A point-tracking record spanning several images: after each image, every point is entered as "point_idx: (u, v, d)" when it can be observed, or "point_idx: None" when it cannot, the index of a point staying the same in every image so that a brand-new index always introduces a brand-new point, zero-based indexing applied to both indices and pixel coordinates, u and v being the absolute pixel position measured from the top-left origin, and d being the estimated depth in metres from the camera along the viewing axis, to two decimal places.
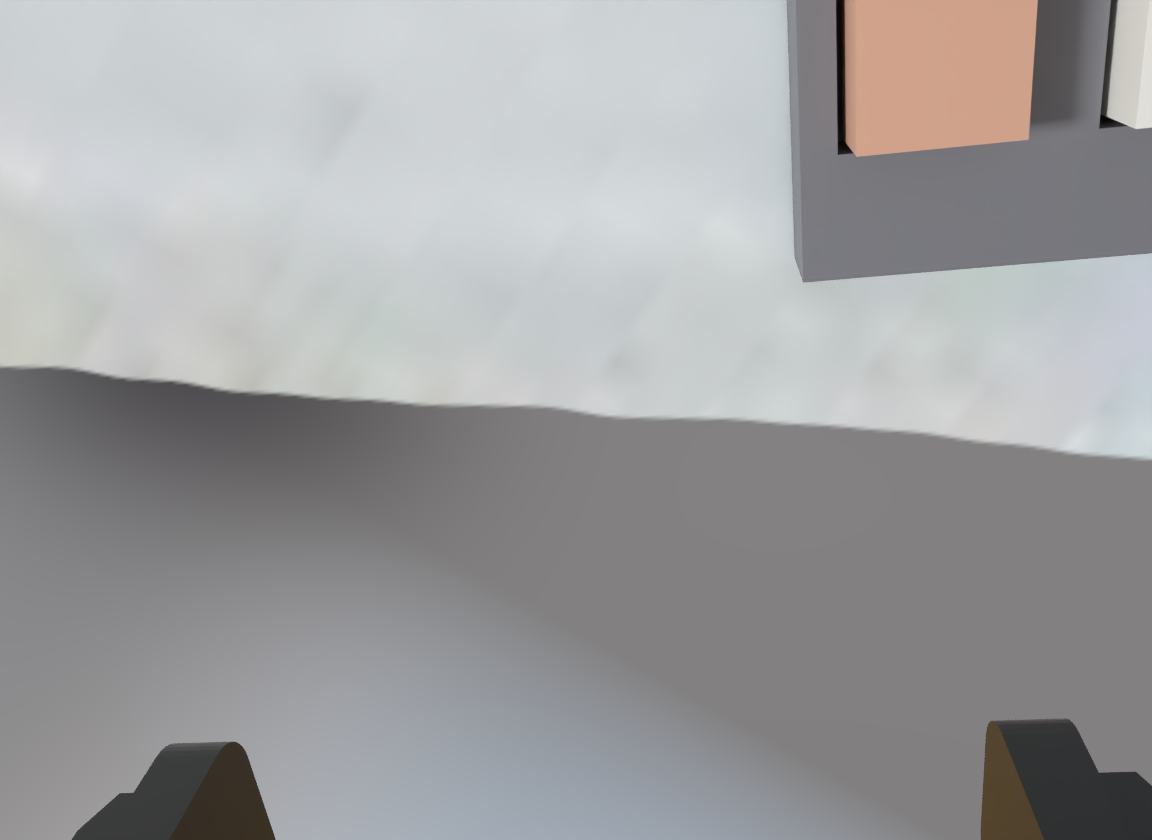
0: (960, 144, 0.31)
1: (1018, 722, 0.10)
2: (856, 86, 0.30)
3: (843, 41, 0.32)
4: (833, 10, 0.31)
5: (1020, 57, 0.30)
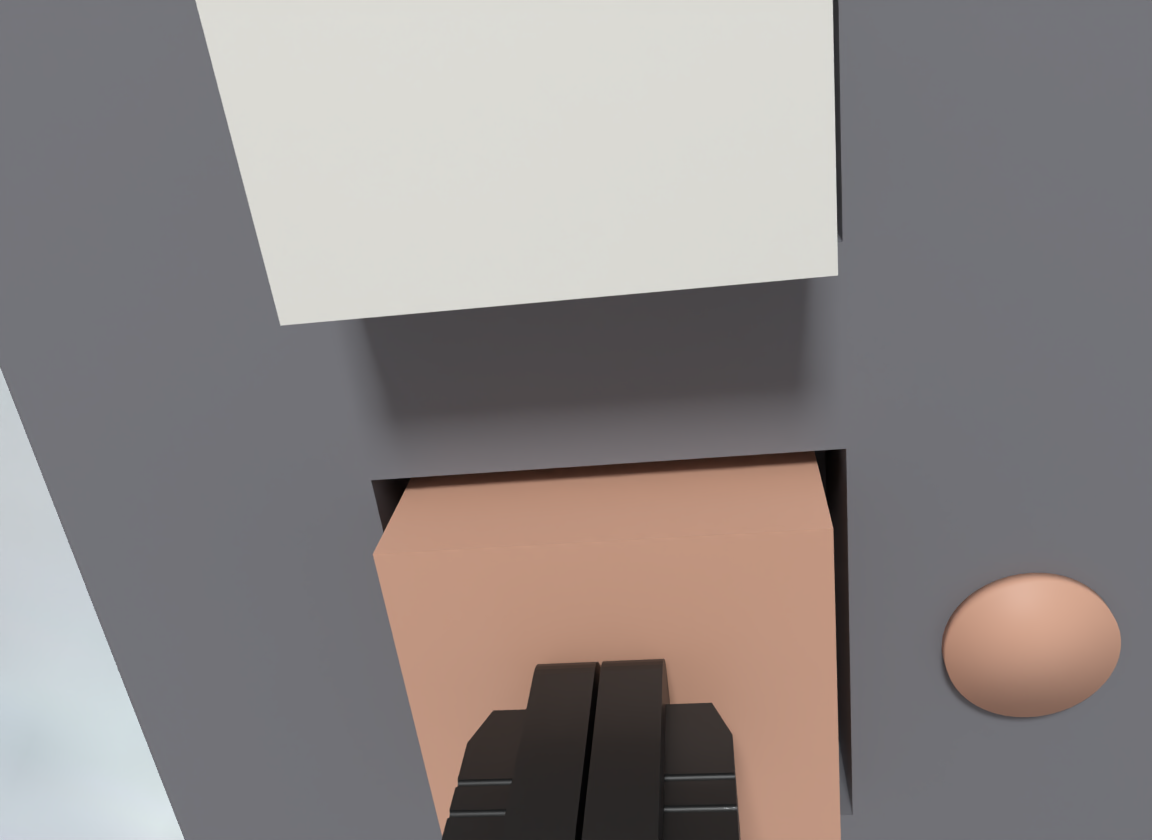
0: None
1: (621, 661, 0.11)
2: None
3: None
4: None
5: None
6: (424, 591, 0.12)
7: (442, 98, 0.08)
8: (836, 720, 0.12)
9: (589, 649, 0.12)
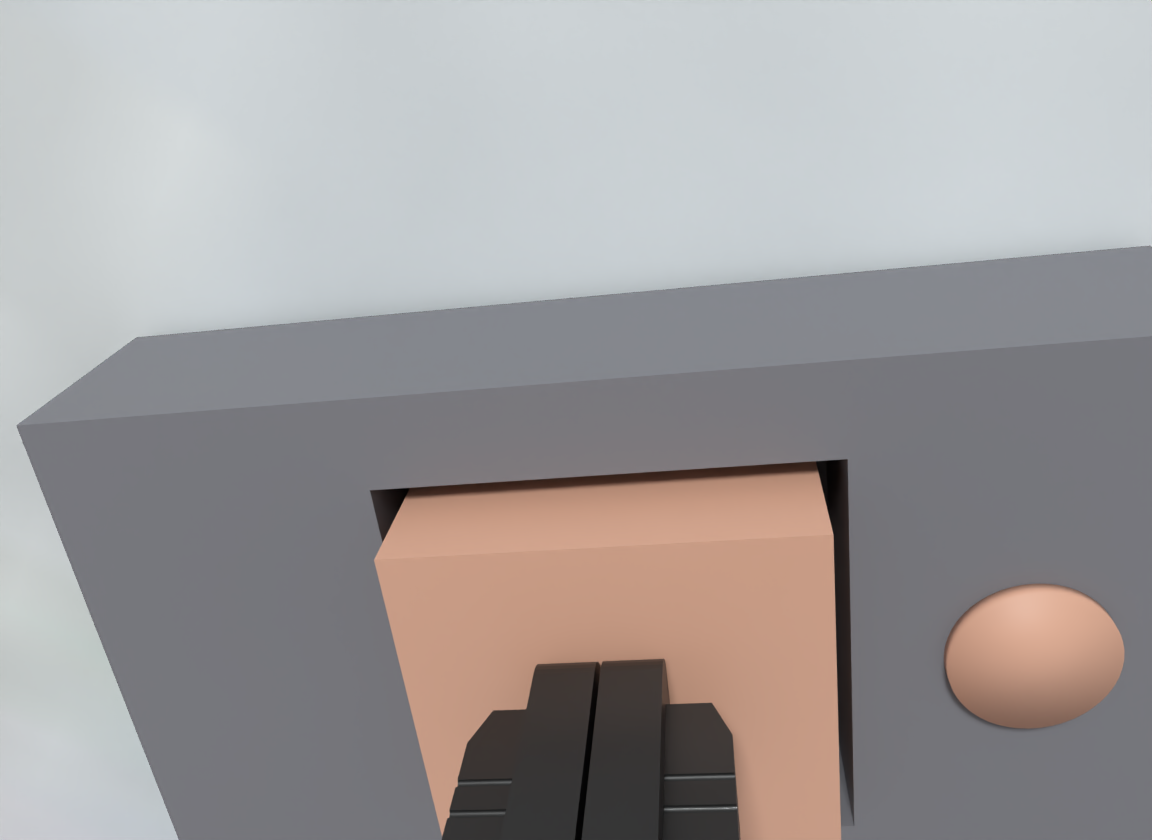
0: (429, 767, 0.13)
1: (621, 662, 0.11)
2: (556, 548, 0.11)
3: None
4: (739, 461, 0.12)
5: None
6: None
7: None
8: None
9: None
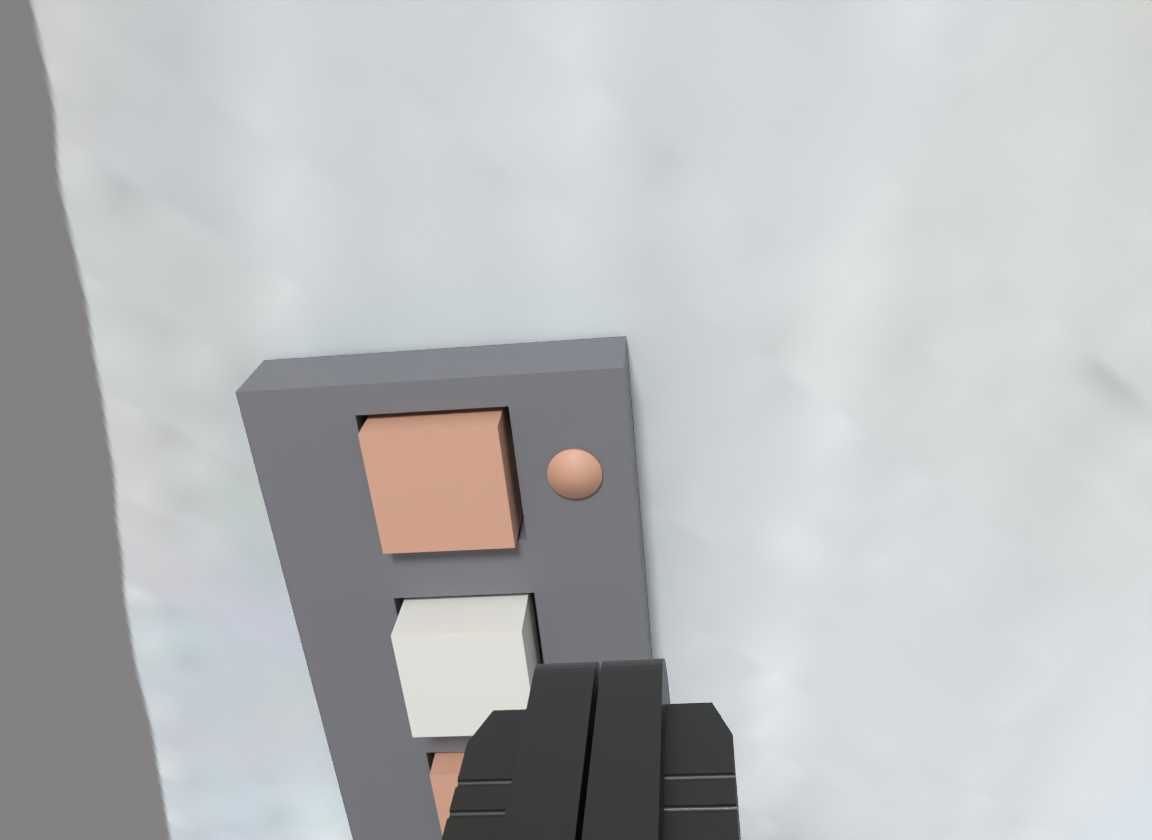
0: (375, 508, 0.37)
1: (621, 661, 0.11)
2: (415, 431, 0.36)
3: None
4: (474, 406, 0.36)
5: (443, 542, 0.38)
6: (443, 783, 0.43)
7: (452, 700, 0.40)
8: None
9: None
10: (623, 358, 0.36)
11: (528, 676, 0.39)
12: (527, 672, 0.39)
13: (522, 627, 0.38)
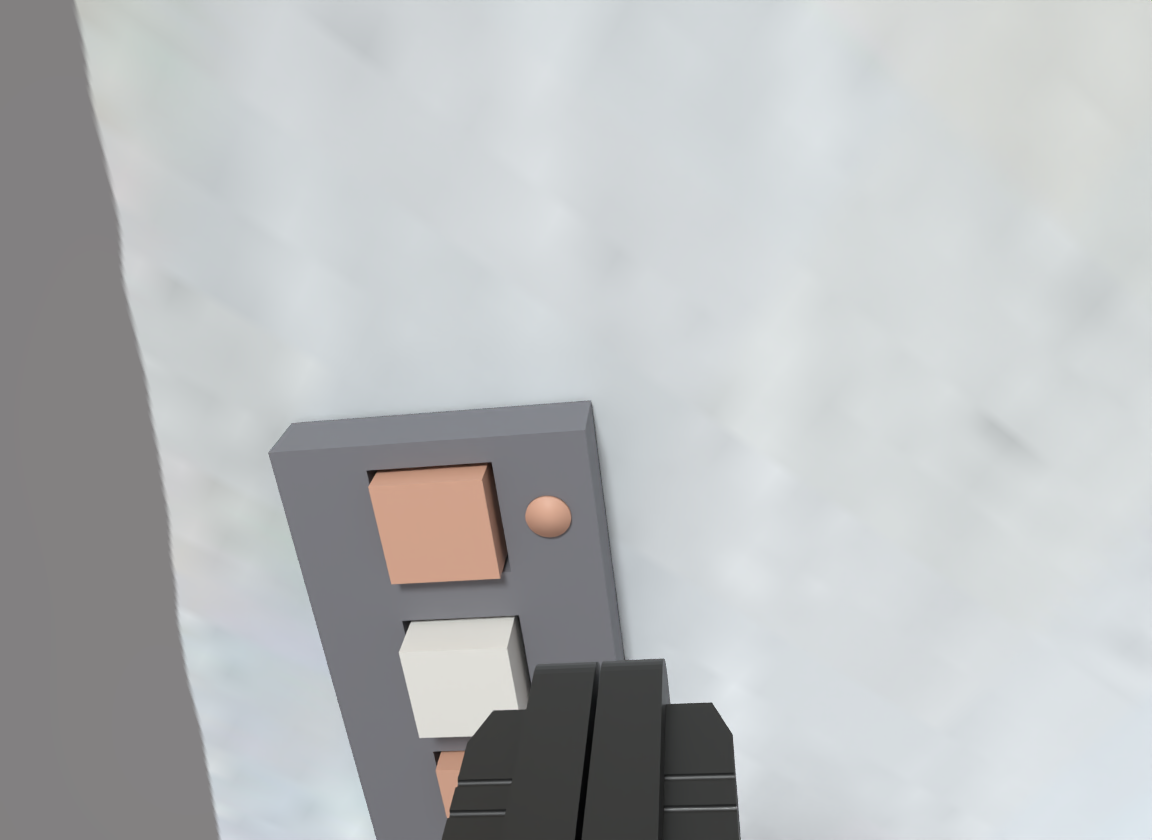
0: (383, 547, 0.45)
1: (621, 662, 0.11)
2: (414, 483, 0.44)
3: None
4: (463, 462, 0.44)
5: (441, 574, 0.45)
6: (447, 778, 0.51)
7: (451, 706, 0.47)
8: None
9: None
10: (585, 421, 0.44)
11: (513, 686, 0.47)
12: (513, 682, 0.46)
13: (508, 645, 0.46)
